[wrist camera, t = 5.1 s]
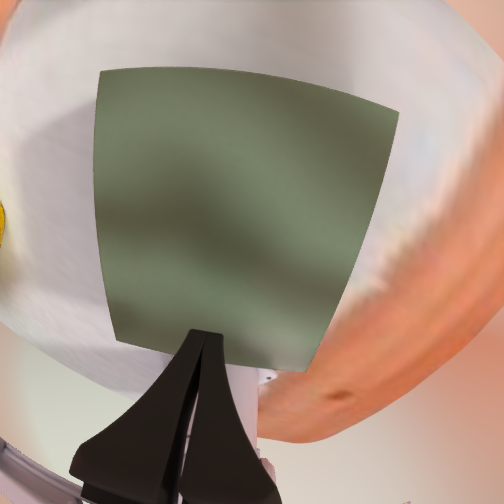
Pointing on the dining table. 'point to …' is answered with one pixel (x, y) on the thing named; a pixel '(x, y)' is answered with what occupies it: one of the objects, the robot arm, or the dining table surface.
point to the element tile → (1, 222)
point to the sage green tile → (232, 206)
